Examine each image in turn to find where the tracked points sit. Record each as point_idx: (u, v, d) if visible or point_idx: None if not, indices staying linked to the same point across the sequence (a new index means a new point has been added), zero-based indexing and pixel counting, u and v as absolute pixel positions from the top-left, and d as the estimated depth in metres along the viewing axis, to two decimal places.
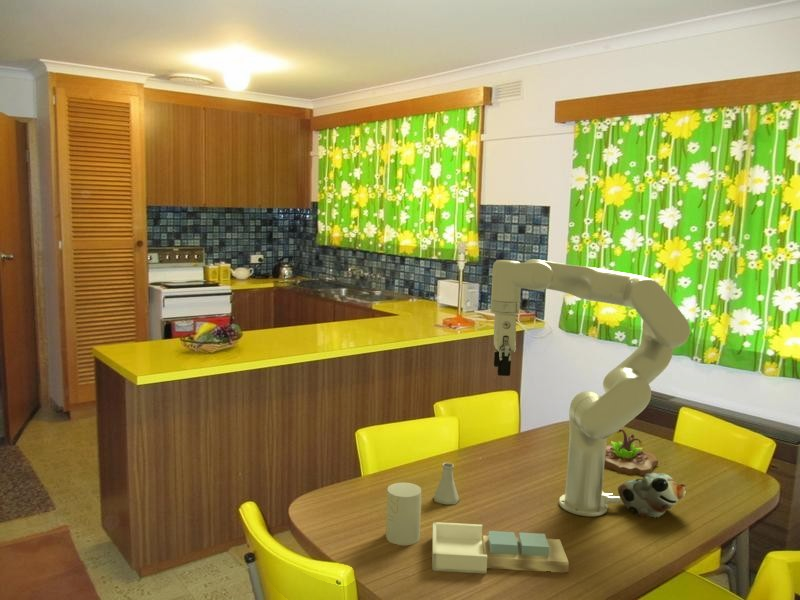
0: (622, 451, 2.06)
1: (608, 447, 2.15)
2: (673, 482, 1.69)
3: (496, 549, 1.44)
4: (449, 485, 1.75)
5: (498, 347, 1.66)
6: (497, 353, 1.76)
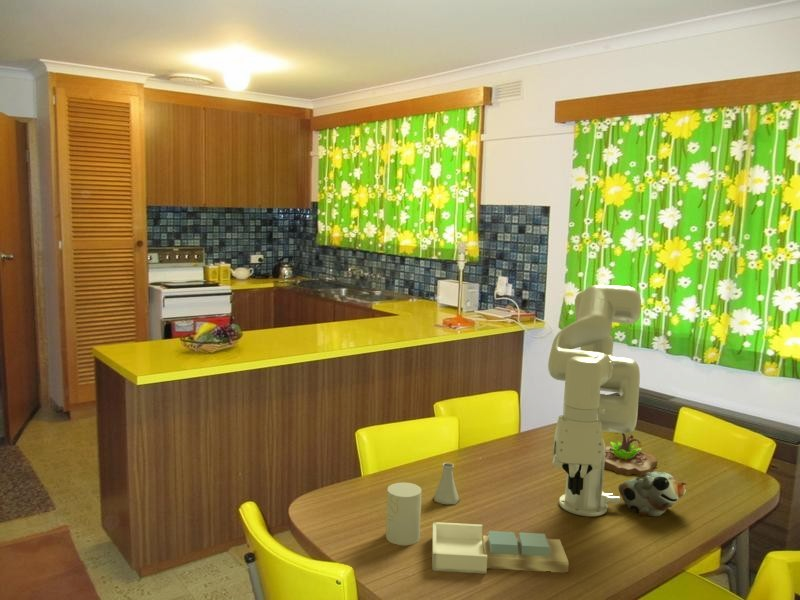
0: (621, 452, 2.05)
1: (607, 448, 2.14)
2: (674, 480, 1.70)
3: (496, 549, 1.44)
4: (449, 485, 1.75)
5: (601, 459, 1.42)
6: (576, 477, 1.43)
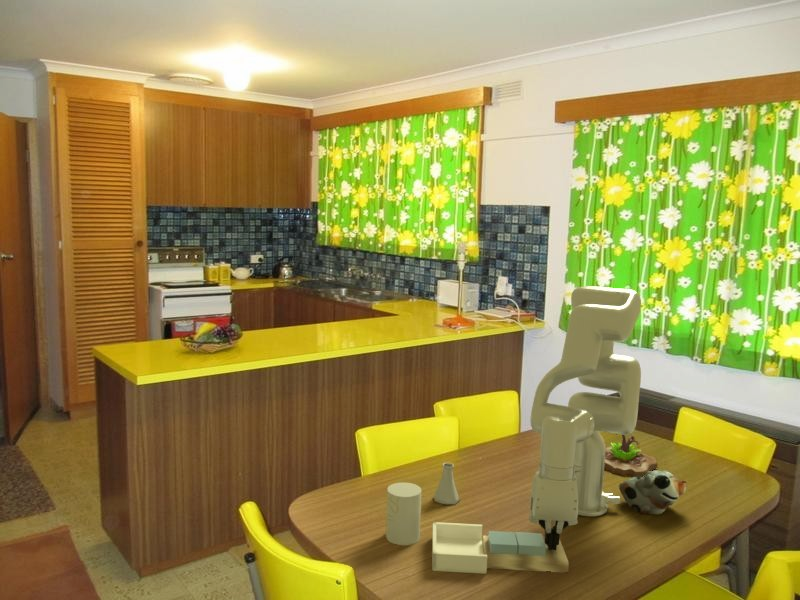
0: (619, 452, 2.05)
1: (609, 448, 2.14)
2: (675, 479, 1.71)
3: (496, 549, 1.44)
4: (449, 485, 1.75)
5: (576, 516, 1.44)
6: (552, 533, 1.46)
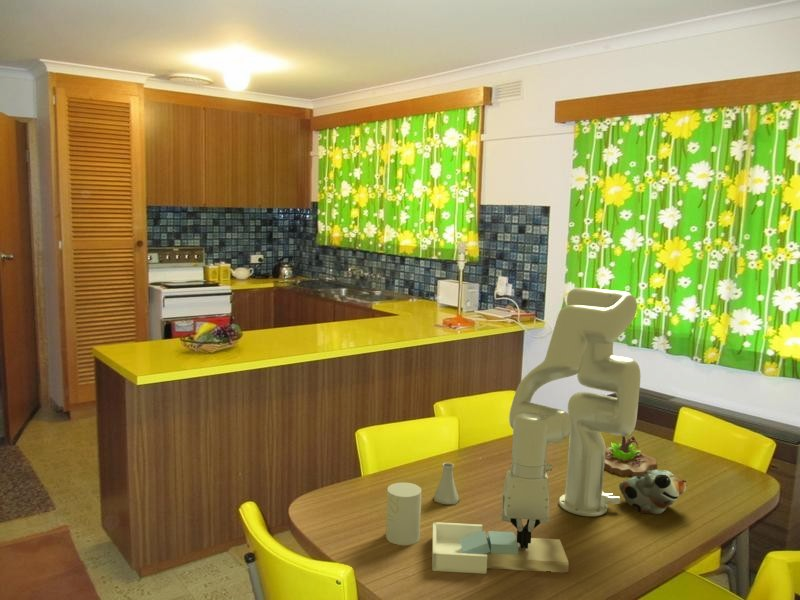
0: (619, 452, 2.05)
1: (609, 448, 2.14)
2: (675, 478, 1.72)
3: None
4: (449, 485, 1.75)
5: (548, 514, 1.44)
6: (524, 531, 1.46)
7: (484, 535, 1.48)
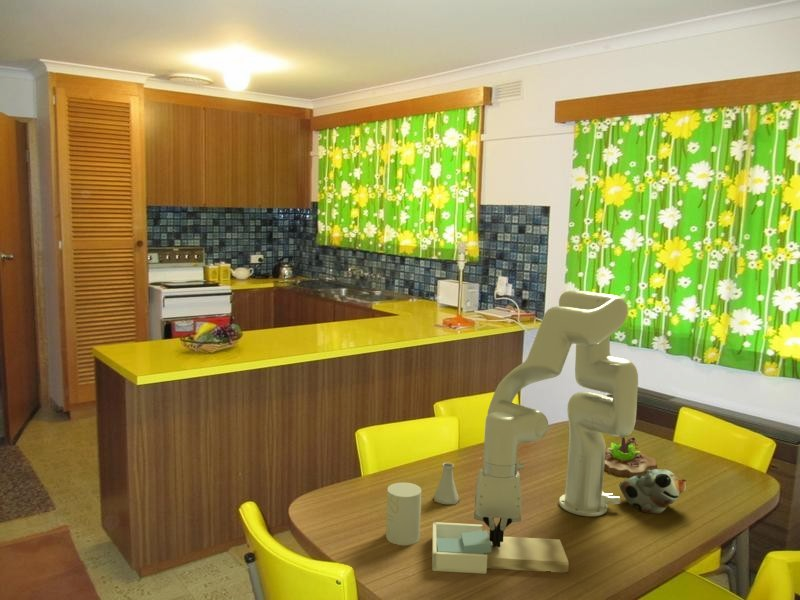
0: (618, 453, 2.04)
1: (610, 449, 2.13)
2: (675, 477, 1.72)
3: None
4: (449, 485, 1.75)
5: (520, 513, 1.44)
6: (496, 530, 1.46)
7: (461, 543, 1.48)
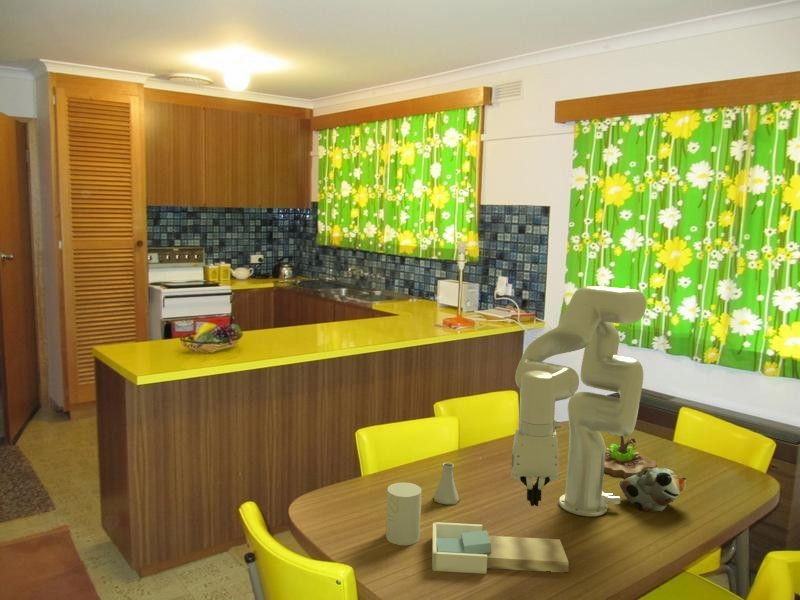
0: (616, 453, 2.04)
1: (611, 449, 2.13)
2: (675, 476, 1.73)
3: None
4: (449, 485, 1.75)
5: (557, 472, 1.43)
6: (534, 489, 1.45)
7: (461, 543, 1.48)
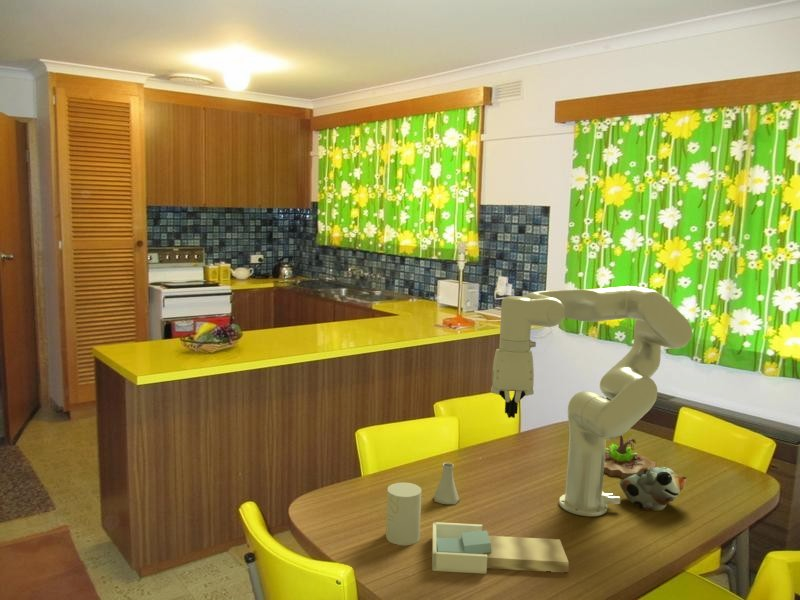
0: (615, 453, 2.04)
1: None
2: (675, 475, 1.74)
3: None
4: (449, 485, 1.75)
5: (532, 386, 1.62)
6: (511, 402, 1.63)
7: (461, 543, 1.48)
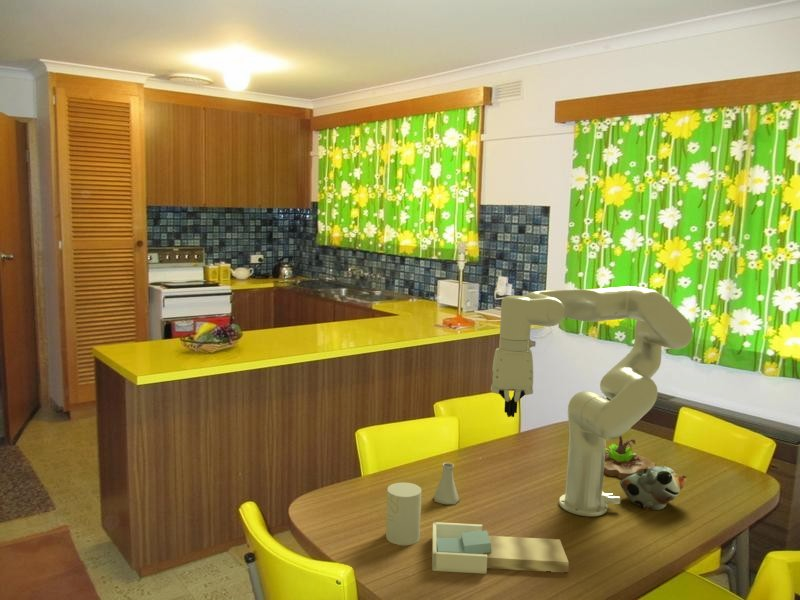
0: (614, 453, 2.04)
1: None
2: (675, 474, 1.75)
3: None
4: (449, 485, 1.75)
5: (532, 385, 1.62)
6: (511, 402, 1.64)
7: (461, 543, 1.48)
